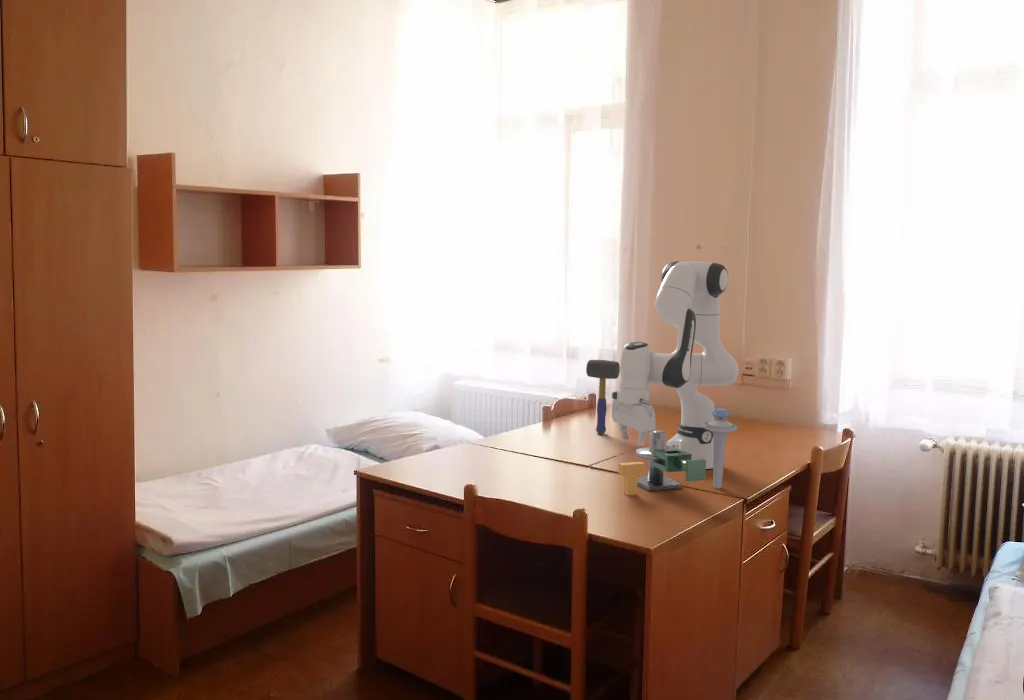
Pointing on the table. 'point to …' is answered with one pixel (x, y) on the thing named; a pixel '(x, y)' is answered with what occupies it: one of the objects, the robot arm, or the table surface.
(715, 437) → the novelty light stick
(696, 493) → the table surface
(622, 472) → the yellow t-shaped block
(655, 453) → the bracket post
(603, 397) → the rubber mallet
